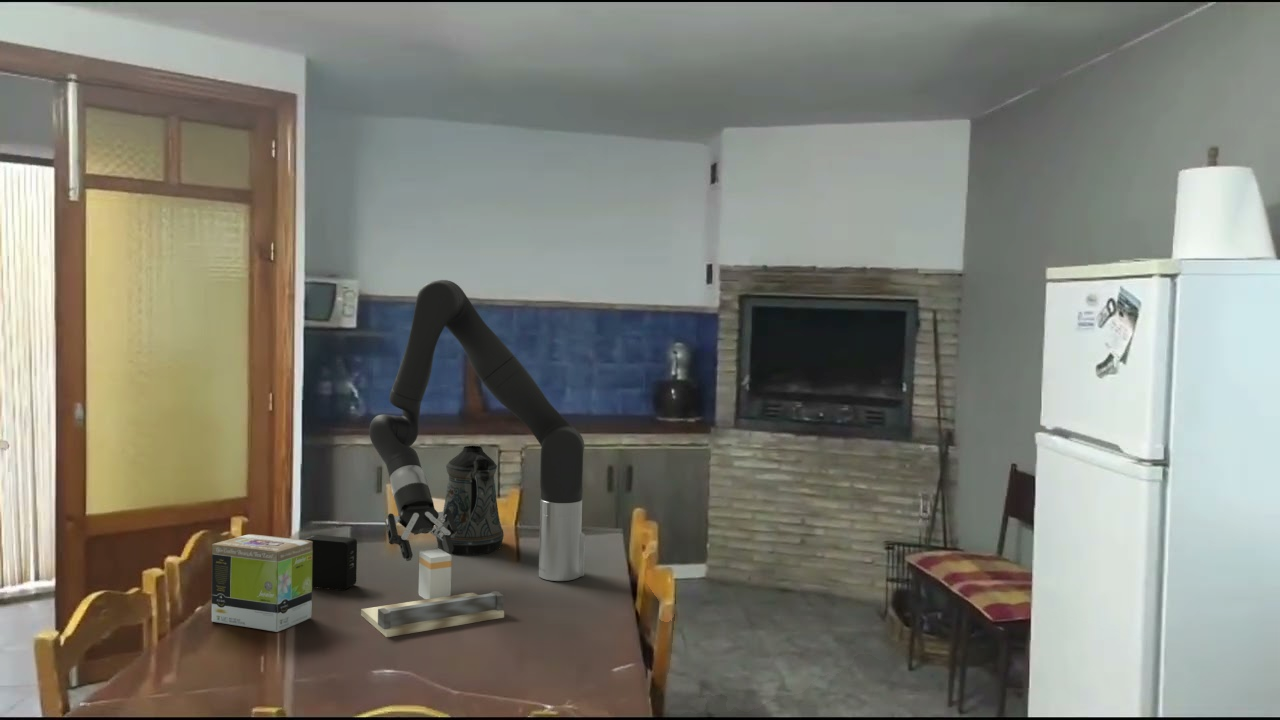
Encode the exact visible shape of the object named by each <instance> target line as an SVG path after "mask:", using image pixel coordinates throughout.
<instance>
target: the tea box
mask: <svg viewBox="0 0 1280 720" xmlns="http://www.w3.org/2000/svg"><path fill="white" fill-rule="evenodd" d="M312 543H313V542H312V541H309V540H305V539H297V538H289V537H288V538H287V537H281V536H271V535H261V534H252V533H248V534H245V535H240V536H237V537H233V538H230V539H226V540H222V541H217V542H216V543H212V544H211V546H212V547H211V548H212V549H211V550H212V551H211V553H212V554H211V622H212V623H213V622H214V623H218V624H225V625H230V626H231V625H232V626H237V627H245V628H252V629H257V630H263V631H268V632H275V633H277V632H281V631H283V630H286V629H289V628H291V627H293V626H295V625H298V624H301V623H303V622H305V621H307V620H309V619H311V618H312V603H313V602H312V601H313V587H312V552H313V549H312Z"/></svg>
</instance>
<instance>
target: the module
mask: <svg viewBox="0 0 1280 720" xmlns="http://www.w3.org/2000/svg"><path fill="white" fill-rule="evenodd" d="M418 552H419V555H418V556H419V557H418V564H419V565H418V596H420V597H421V598H423V600H425V599H432V598H439V597H445V596H452V593H451V586H452V585H451V584H452V583H451V582H452V565H453V564H452V563H453V561H452V554H451V555H450V554H448V553H446V552H445V551H443V550H441V549H438V548H434V549H428V550H427V549H425V550H419V551H418Z"/></svg>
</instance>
